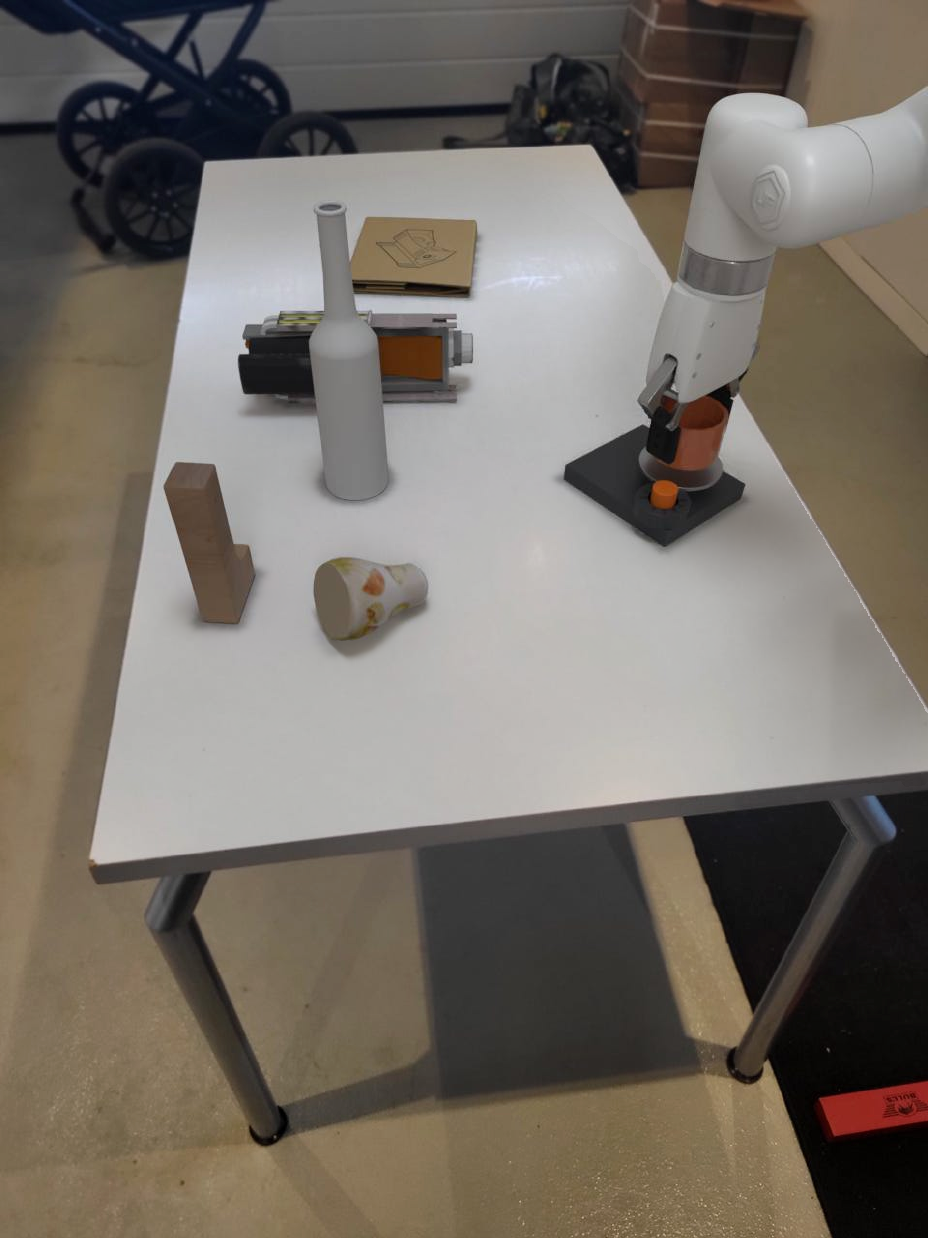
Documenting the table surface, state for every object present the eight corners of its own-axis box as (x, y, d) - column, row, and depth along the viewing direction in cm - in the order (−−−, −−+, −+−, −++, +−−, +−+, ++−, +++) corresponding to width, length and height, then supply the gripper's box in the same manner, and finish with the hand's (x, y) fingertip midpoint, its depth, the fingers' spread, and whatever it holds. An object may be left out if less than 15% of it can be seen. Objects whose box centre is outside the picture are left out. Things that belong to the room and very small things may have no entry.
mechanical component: (473, 418, 101) (474, 337, 94) (247, 419, 101) (232, 337, 93) (471, 375, 107) (472, 296, 100) (259, 375, 107) (245, 296, 100)
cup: (732, 453, 87) (742, 413, 84) (687, 479, 84) (696, 439, 81) (679, 423, 91) (687, 384, 88) (634, 447, 88) (641, 408, 85)
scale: (742, 499, 91) (751, 471, 88) (659, 551, 85) (665, 523, 83) (640, 438, 98) (645, 411, 96) (557, 482, 93) (560, 454, 90)
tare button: (680, 503, 85) (683, 488, 84) (663, 512, 84) (666, 498, 83) (661, 491, 87) (664, 476, 85) (644, 500, 86) (647, 486, 84)
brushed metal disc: (739, 469, 89) (740, 466, 88) (684, 502, 85) (685, 499, 85) (675, 432, 93) (676, 429, 93) (620, 462, 89) (621, 459, 89)
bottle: (374, 505, 90) (351, 225, 70) (315, 493, 91) (275, 215, 71) (397, 468, 94) (382, 195, 74) (340, 457, 95) (310, 186, 75)
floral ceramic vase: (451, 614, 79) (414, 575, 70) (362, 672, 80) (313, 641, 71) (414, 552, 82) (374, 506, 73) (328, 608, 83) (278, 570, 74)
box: (470, 298, 122) (470, 282, 120) (344, 293, 122) (343, 277, 121) (478, 234, 137) (479, 219, 135) (366, 230, 137) (365, 215, 136)
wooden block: (238, 624, 78) (203, 488, 67) (201, 622, 78) (161, 485, 67) (256, 574, 82) (226, 438, 72) (221, 571, 83) (187, 436, 72)
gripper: (752, 224, 80) (711, 396, 93) (621, 278, 72) (596, 458, 85) (823, 252, 76) (770, 428, 89) (692, 312, 68) (655, 495, 81)
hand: (685, 441), depth 87 cm, fingers closed on cup, 6 cm apart
